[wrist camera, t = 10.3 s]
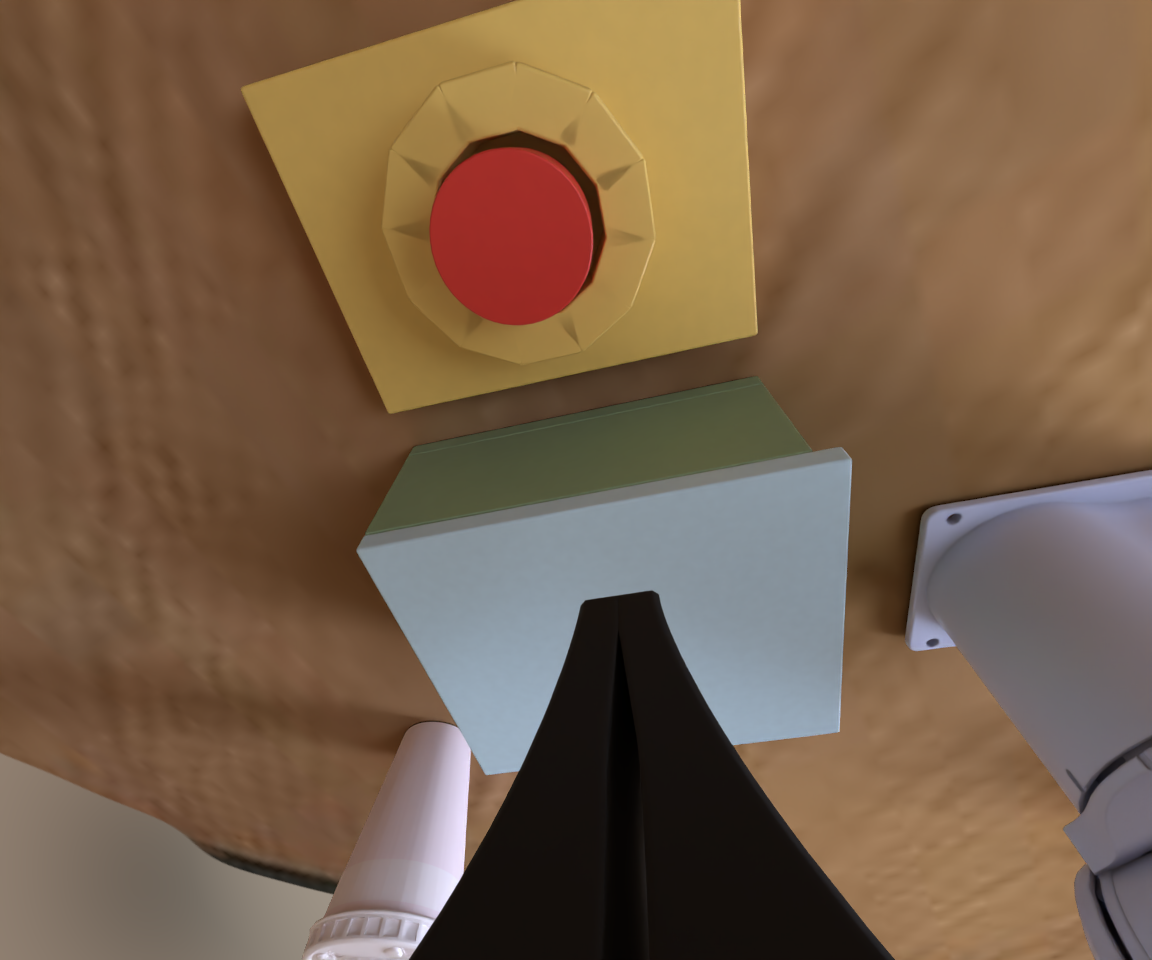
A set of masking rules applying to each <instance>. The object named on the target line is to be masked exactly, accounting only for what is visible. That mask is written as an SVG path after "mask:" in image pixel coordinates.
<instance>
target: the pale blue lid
mask: <svg viewBox="0 0 1152 960" xmlns="http://www.w3.org/2000/svg"><path fill="white" fill-rule="evenodd" d="M851 473H852V459H851V457H850V456H849V455H848V454H847V453H846V452H845V450H844V449H843V448H842V447H836V448H831V449H825V450H820V451H815V452H809V453H804V454H799V455H793V456H788V457H783V458H777V459H772V460H767V461H761V462H756V463H751V464H745V465H740V466H735V467H729V468H724V469H718V470H713V471H708V472H702V473H697V474H692V475H686V476H681V477H676V478H670V479H665V480H660V481H654V482H649V483H644V484H638V485H633V486H628V487H622V488H617V489H612V490H606V491H601V492H596V493H590V494H585V495H580V496H574V497H569V498H564V499H558V500H553V501H548V502H542V503H537V504H532V505H526V506H521V507H516V508H510V509H505V510H500V511H494V512H489V513H484V514H478V515H473V516H468V517H462V518H457V519H452V520H446V521H441V522H435V523H430V524H425V525H419V526H414V527H409V528H403V529H398V530H393V531H387V532H382V533H377V534H371V535H366V536H364V537H363V539H362V540H361V542H360V544H359V546H358V548H357V553H358V555H359V557H360V559H361V560H362V562H363V564H364V566H365V567H366V569H367V571H368V572H369V574H370V576H371V578H372V579H373V581H374V583H375V585H376V586H377V588H378V590H379V591H380V593H381V595H382V597H383V598H384V600H385V602H386V604H387V605H388V607H389V609H390V611H391V612H392V614H393V616H394V617H395V619H396V621H397V623H398V624H399V626H400V628H401V630H402V631H403V633H404V635H405V636H406V638H407V640H408V642H409V643H410V645H411V647H412V649H413V650H414V652H415V654H416V655H417V657H418V659H419V661H420V662H421V664H422V666H423V668H424V669H425V671H426V673H427V674H428V676H429V678H430V680H431V681H432V683H433V685H434V687H435V688H436V690H437V692H438V693H439V695H440V697H441V699H442V700H443V702H444V704H445V706H446V707H447V709H448V711H449V712H450V714H451V716H452V718H453V719H454V721H455V723H456V725H457V726H458V728H459V730H460V731H461V733H462V735H463V737H464V738H465V740H466V742H467V744H468V745H469V747H470V749H471V750H472V752H473V754H474V756H475V757H476V759H477V761H478V763H479V764H480V766H481V768H482V769H483V771H484V773H485V774H486V775H491V774H499V773H508V772H516V771H519V770H520V768H521V766H522V764H523V762H524V760H525V757H526V755H527V753H528V751H529V748H530V746H531V744H532V742H533V739H534V737H535V735H536V733H537V730H538V728H539V726H540V724H541V721H542V719H543V717H544V714H545V712H546V710H547V707H548V705H549V702H550V699H551V697H552V694H553V691H554V689H555V686H556V683H557V681H558V678H559V676H560V673H561V670H562V667H563V665H564V662H565V659H566V656H567V653H568V650H569V647H570V643H571V640H572V637H573V634H574V630H575V626H576V623H577V619H578V615H579V611H580V606H581V605H582V603H583V602H584V601H585V600H590V599H596V598H603V597H610V596H617V595H623V594H630V593H637V592H643V591H650V590H652V591H654V592H656V593H658V594H659V597H660V602H661V606H662V609H663V612H664V616H665V618H666V621H667V624H668V626H669V629H670V631H671V634H672V636H673V638H674V640H675V643H676V645H677V647H678V649H679V652H680V654H681V656H682V658H683V660H684V662H685V664H686V666H687V668H688V670H689V671H690V673H691V675H692V677H693V679H694V681H695V683H696V684H697V686H698V688H699V690H700V692H701V694H702V695H703V697H704V699H705V701H706V703H707V704H708V706H709V708H710V709H711V711H712V713H713V715H714V716H715V718H716V720H717V721H718V723H719V724H720V726H721V728H722V729H723V731H724V732H725V734H726V736H727V737H728V739H729V740H730V742H731V744H732V745H738V744H747V743H755V742H763V741H771V740H780V739H788V738H796V737H804V736H813V735H821V734H829V733H837V732H839V725H840V704H841V683H842V662H843V641H844V620H845V599H846V578H847V557H848V536H849V515H850V494H851Z"/></svg>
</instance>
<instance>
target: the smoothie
mask: <svg viewBox="0 0 1152 960" xmlns="http://www.w3.org/2000/svg"><path fill="white" fill-rule="evenodd" d="M470 757H471V749H470V747H469V745H468V744H467V742H466V740H465V738H464V737H463V735H462V733H461V731H460V730H459V728H457V727H455V726H453V725H450V724H446V723H441V722H423V723H419V724H416V725H414V726H412V727H410V728H409V729H408V730H407V731H406V733H405V735H404V737H403V739H402V741H401V744H400V746H399V748H398V750H397V753H396V755H395V757H394V760H393V762H392V764H391V766H390V769H389V771H388V773H387V775H386V778H385V780H384V782H383V784H382V787H381V789H380V791H379V793H378V796H377V798H376V800H375V802H374V805H373V807H372V809H371V811H370V814H369V816H368V818H367V820H366V823H365V825H364V827H363V829H362V832H361V834H360V836H359V839H358V841H357V843H356V845H355V848H354V850H353V852H352V854H351V857H350V859H349V861H348V863H347V866H346V868H345V870H344V872H343V874H342V876H341V878H340V881H339V883H338V885H337V888H336V890H335V893H334V895H333V897H332V900H331V902H330V904H329V907H328V909H327V912H326V914H325V916H324V917H323V918H322V919H320V920H318V921H317V922H316V923H315V924H314V925H313V926H312V927H311V929H310V936H309V939H308V942H307V945H306V947H305V950H304V953H303V956H302V960H409V958H410V957H411V955H412V954H413V952H414V951H415V949H416V948H417V946H418V945H419V943H420V942H421V940H422V939H423V937H424V936H425V934H426V933H427V931H428V930H429V928H430V927H431V925H432V924H433V922H434V921H435V919H436V918H437V916H438V915H439V913H440V911H441V910H442V908H443V907H444V905H445V903H446V902H447V900H448V899H449V897H450V895H451V894H452V892H453V890H454V889H455V887H456V885H457V884H458V882H459V881H460V879H461V877H462V875H463V872H464V856H465V839H466V823H467V806H468V790H469V773H470Z"/></svg>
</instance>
